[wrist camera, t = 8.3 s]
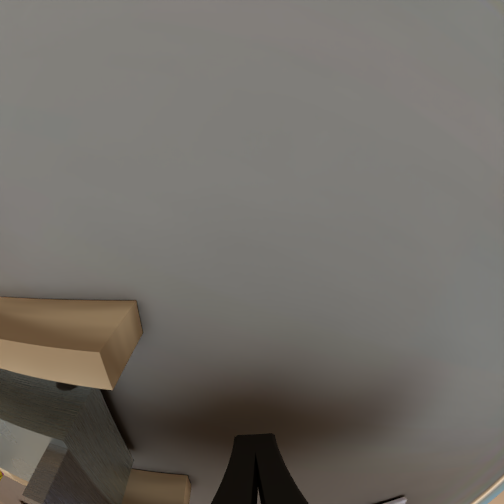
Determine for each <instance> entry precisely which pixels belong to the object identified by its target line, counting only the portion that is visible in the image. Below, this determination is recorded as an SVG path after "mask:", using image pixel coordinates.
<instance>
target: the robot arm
mask: <svg viewBox="0 0 504 504" xmlns="http://www.w3.org/2000/svg"><path fill="white" fill-rule="evenodd" d="M258 489H259V495H260V501H261V504H308V502H307V501H306V499H305V498H304V496H303V495H302V493H301V492H300V490H299V489H298V487H297V485H296V484H295V482H294V480H293V478H292V477H291V475H290V473H289V471H288V469H287V467H286V465H285V463H284V461H283V459H282V456H281V454H280V451H279V449H278V446H277V443H276V439H275V435H274V434H272V433H270V434H255V435H237V436H236V437H235V439H234V445H233V450H232V454H231V457H230V460H229V464H228V467H227V469H226V472H225V474H224V477H223V480H222V482H221V484H220V487H219V489H218V491H217V493H216V495H215V497H214V499H213V501H212V503H211V504H257V494H258ZM406 501H407V499H406V497H402V498H399V499H396V500H393V501H389V502H386V503H383V504H405V503H406Z"/></svg>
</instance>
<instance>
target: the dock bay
mask: <svg viewBox="0 0 504 504" xmlns="http://www.w3.org/2000/svg"><path fill="white" fill-rule="evenodd" d="M142 334H143V331H142V327H141V322H140V317H139V312H138V308H137V302H136V301H103V300H56V299H30V298H10V297H0V368H1V369H5V370H8V371H12V372H16V373H20V374H24V375H28V376H32V377H37V378H41V379H46V380H51V381H56V382H61V383H67V384H73V385H79V386H85V387H92V388H99V389H107V390H113V389H114V387H115V385H116V383H117V381H118V379H119V377H120V375H121V373H122V371H123V369H124V368H125V366H126V364H127V362H128V360H129V358H130V356H131V354H132V352H133V350H134V349H135V347H136V345H137V343H138V341H139V339H140V337H141V336H142ZM0 470H1V471H2V473H3V474H4V475H5V476H7V477H9V478H11V479H13V480H15V481H17V482H19V483H21V484H23V485H25V486H27V484H28V481H26V480H24V479H21V478H19V477H17V476H15V475H13V474H11V473H9V472H7V471H5V470H3V469H2V468H0ZM190 492H191V483H190V481H189V479H188V476H187V475H176V474H166V473H157V472H149V471H142V470H135V469H131V472H130V475H129V479H128V482H127V486H126V489H125V493H124V496H123V500H122V503H121V504H189V501H190Z"/></svg>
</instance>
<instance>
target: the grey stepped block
mask: <svg viewBox="0 0 504 504" xmlns="http://www.w3.org/2000/svg"><path fill="white" fill-rule="evenodd" d="M133 462H134V459H133V458H132V456H131V454H130V452H129V450H128V448H127V446H126V444H125V443H124V441H123V439H122V437H121V435H120V433H119V431H118V429H117V426H116V424H115V422H114V420H113V418H112V416H111V414H110V411H109V409H108V407H107V405H106V402H105V400H104V398H103V395H102V393H101V390H100V389H99V388H92V387H85V386H79V385H73V384H67V383H61V382H56V381H51V380H46V379H41V378H37V377H32V376H28V375H24V374H20V373H16V372H12V371H8V370H5V369H1V368H0V468H2V469H3V470H5V471H7V472H9V473H11V474H13V475H15V476H17V477H19V478H21V479H24V480H26V481H28V484H27V486H26V488H25V490H24V492H23V496H24V497H25V498H26V499H27V500H28V501H29V502H30V503H31V504H121V503H122V500H123V496H124V493H125V489H126V486H127V482H128V479H129V475H130V472H131V468H132V465H133Z"/></svg>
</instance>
